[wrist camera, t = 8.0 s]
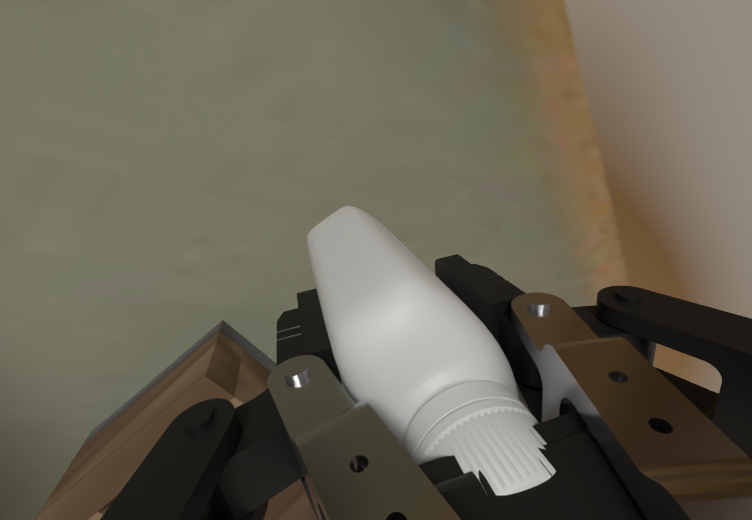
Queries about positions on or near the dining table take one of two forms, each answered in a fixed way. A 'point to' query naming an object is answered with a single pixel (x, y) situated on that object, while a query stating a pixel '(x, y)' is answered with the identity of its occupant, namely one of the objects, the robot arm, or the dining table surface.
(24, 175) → the dining table surface
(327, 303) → the eye dropper bottle
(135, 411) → the walnut socket
